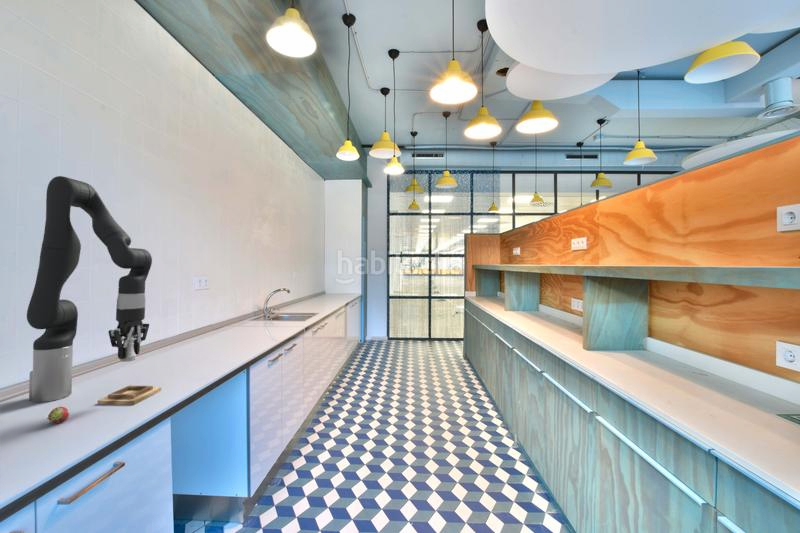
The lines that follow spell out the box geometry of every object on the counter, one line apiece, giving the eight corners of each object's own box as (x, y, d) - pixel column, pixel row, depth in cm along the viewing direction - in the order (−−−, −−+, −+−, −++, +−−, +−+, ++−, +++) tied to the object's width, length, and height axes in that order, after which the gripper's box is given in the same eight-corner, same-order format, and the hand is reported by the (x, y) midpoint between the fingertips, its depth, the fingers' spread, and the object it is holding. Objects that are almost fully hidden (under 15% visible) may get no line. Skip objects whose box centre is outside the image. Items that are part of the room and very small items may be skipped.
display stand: (97, 404, 105) (97, 396, 105) (128, 390, 117) (128, 383, 117) (134, 404, 105) (134, 397, 105) (161, 390, 117) (161, 384, 117)
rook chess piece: (122, 358, 110) (124, 335, 110) (138, 358, 112) (139, 335, 112) (116, 362, 106) (118, 338, 106) (133, 361, 108) (134, 337, 108)
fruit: (73, 416, 96) (74, 399, 96) (64, 425, 91) (64, 407, 91) (54, 419, 94) (54, 402, 94) (43, 428, 89) (43, 410, 89)
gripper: (137, 303, 116) (135, 350, 116) (100, 308, 102) (97, 362, 102) (158, 304, 116) (155, 351, 116) (123, 309, 102) (120, 363, 102)
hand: (128, 356), depth 109 cm, fingers closed on rook chess piece, 4 cm apart
